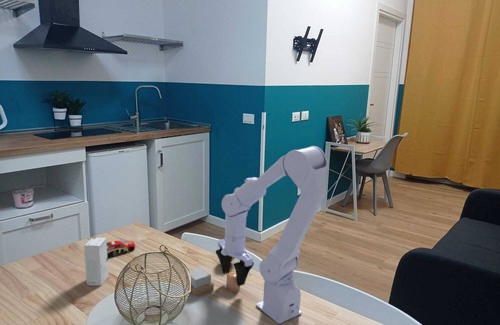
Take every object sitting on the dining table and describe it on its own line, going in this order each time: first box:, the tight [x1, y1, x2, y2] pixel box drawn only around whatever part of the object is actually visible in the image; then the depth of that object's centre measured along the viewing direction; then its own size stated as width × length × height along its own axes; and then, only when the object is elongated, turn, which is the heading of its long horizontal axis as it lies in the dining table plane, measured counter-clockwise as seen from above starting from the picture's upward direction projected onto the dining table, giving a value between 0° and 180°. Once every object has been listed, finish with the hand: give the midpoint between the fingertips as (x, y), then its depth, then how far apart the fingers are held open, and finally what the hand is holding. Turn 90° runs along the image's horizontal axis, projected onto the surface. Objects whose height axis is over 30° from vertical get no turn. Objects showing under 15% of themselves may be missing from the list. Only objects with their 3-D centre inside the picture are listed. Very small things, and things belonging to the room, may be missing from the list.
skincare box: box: [83, 237, 109, 287], centre depth 105 cm, size 6×4×12 cm
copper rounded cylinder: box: [225, 271, 241, 292], centre depth 105 cm, size 4×4×4 cm
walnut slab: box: [190, 281, 215, 297], centre depth 104 cm, size 6×6×2 cm
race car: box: [106, 240, 136, 259], centre depth 124 cm, size 13×5×4 cm, turn 132°
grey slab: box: [189, 267, 212, 288], centre depth 104 cm, size 5×5×2 cm
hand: (233, 278), depth 105 cm, fingers open, 7 cm apart
